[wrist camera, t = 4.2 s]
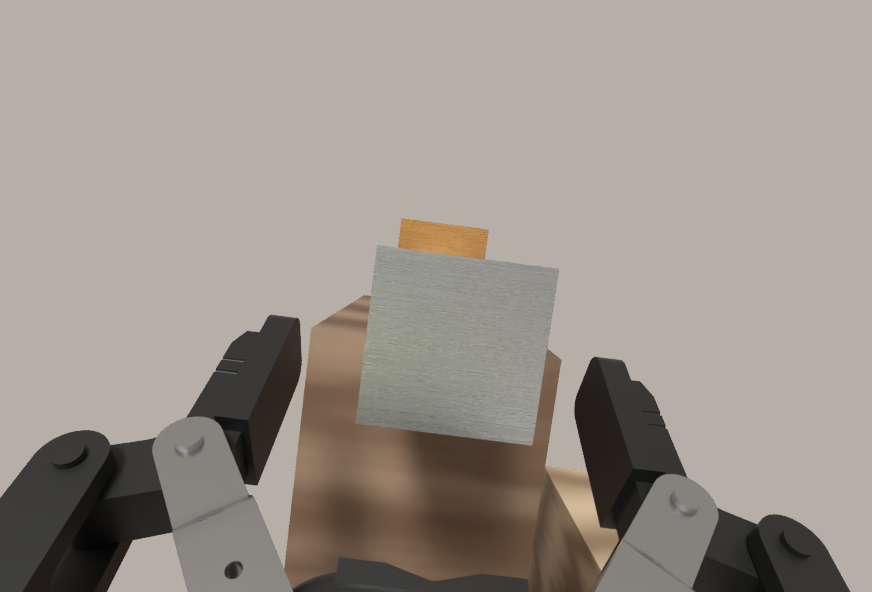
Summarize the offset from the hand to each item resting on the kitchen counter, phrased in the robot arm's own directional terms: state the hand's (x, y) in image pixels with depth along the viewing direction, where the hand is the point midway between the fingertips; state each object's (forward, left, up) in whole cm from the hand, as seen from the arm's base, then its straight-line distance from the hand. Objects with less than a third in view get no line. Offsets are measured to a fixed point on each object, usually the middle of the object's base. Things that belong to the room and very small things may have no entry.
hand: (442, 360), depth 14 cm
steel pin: (-4, +8, -1) cm, 9 cm away
